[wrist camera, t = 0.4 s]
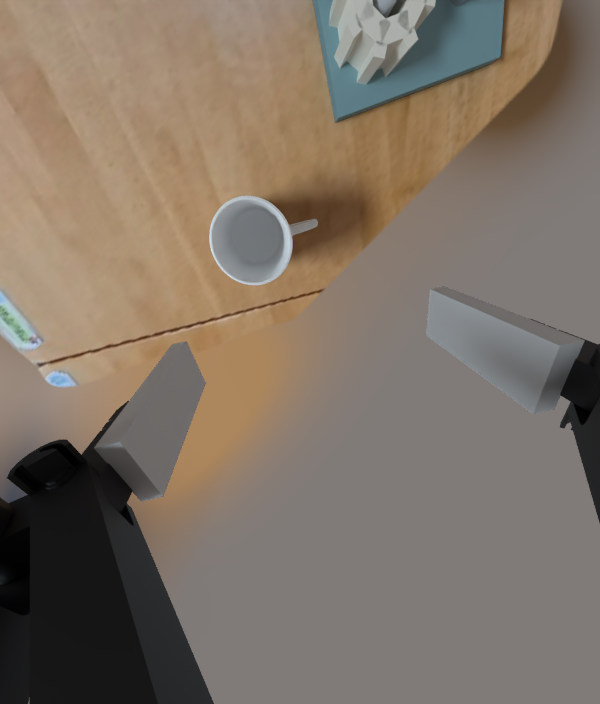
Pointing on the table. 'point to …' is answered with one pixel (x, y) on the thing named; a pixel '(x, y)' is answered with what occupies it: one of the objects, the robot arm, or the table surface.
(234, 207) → the mug
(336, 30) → the gear board
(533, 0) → the table surface
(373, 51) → the cream gear
